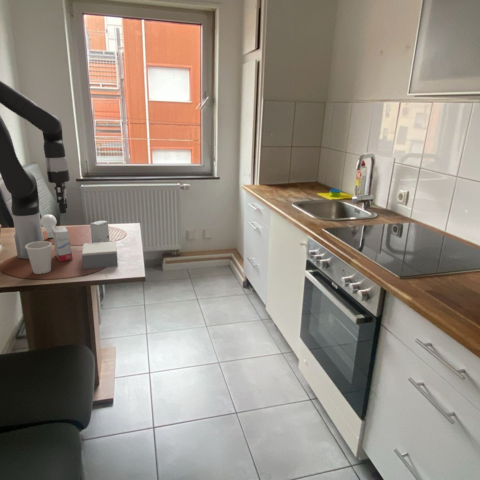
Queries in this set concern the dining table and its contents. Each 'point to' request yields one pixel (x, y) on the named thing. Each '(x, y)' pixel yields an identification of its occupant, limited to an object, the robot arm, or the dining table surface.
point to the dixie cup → (40, 256)
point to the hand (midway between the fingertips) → (63, 210)
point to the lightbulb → (48, 224)
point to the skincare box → (99, 231)
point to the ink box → (62, 243)
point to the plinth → (99, 255)
